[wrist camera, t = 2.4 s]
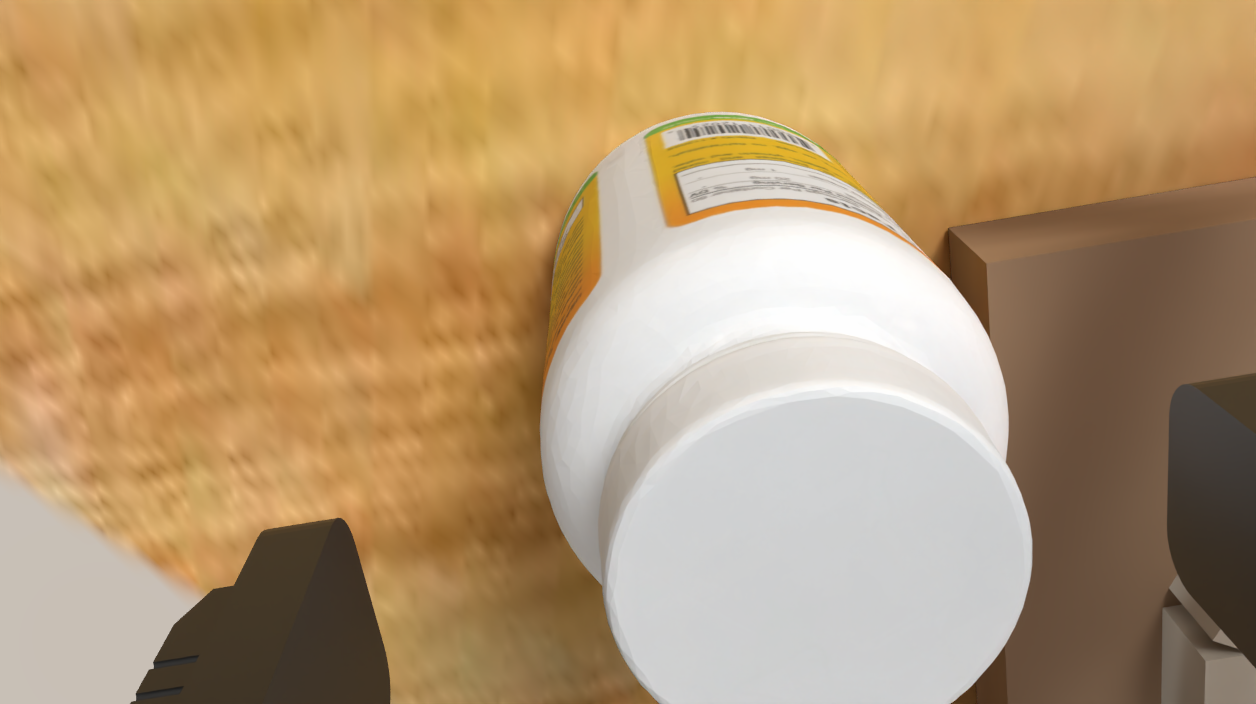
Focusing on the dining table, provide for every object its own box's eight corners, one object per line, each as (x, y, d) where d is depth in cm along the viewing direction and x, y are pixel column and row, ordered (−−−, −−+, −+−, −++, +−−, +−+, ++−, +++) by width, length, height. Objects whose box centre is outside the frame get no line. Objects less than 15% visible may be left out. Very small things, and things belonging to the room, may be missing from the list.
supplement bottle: (674, 464, 21) (738, 900, 12) (488, 233, 19) (398, 537, 10) (929, 297, 20) (1215, 635, 11) (758, 37, 18) (925, 179, 9)
